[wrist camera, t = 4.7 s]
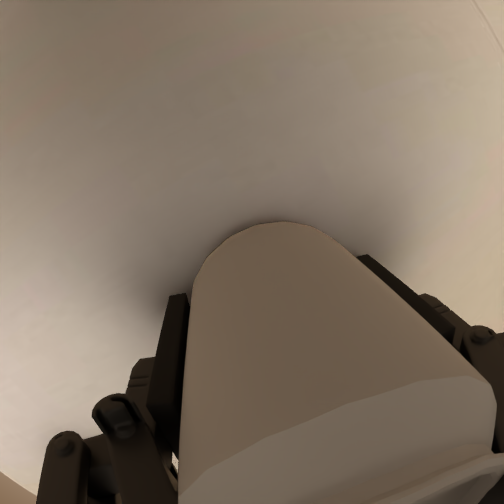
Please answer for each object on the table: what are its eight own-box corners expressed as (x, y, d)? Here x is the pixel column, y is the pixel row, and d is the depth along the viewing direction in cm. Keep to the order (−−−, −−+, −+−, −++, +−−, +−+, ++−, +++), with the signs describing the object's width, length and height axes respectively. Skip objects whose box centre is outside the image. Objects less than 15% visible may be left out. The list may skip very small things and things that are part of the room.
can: (262, 180, 13) (500, 384, 2) (377, 278, 15) (548, 454, 4) (160, 312, 14) (113, 582, 3) (280, 380, 17) (343, 588, 5)
